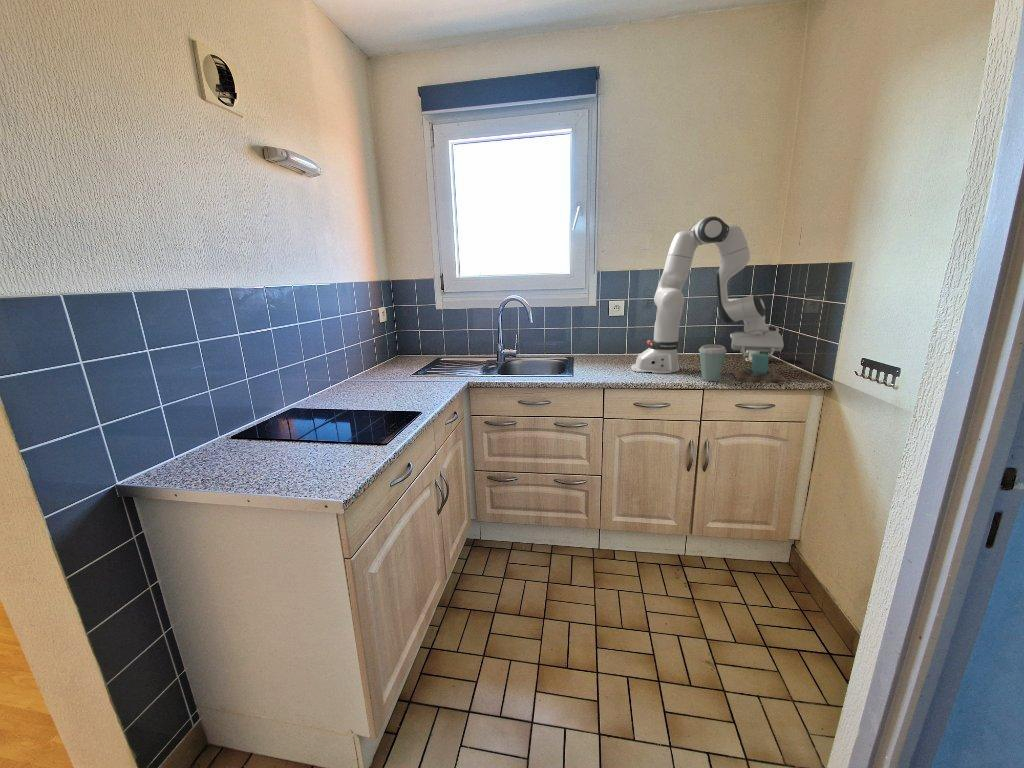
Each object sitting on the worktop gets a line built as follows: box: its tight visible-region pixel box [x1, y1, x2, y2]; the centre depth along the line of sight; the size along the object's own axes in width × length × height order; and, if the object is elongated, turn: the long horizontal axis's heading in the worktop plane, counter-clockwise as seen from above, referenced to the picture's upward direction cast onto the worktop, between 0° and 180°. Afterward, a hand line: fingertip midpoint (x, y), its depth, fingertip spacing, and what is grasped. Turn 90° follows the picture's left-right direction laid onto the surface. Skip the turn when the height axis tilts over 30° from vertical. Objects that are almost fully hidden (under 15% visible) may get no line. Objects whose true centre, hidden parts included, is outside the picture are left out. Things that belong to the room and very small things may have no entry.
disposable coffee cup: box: [698, 343, 727, 382], centre depth 176 cm, size 11×11×15 cm
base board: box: [731, 368, 788, 383], centre depth 178 cm, size 18×13×3 cm
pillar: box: [750, 354, 770, 374], centre depth 177 cm, size 5×5×9 cm
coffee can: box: [744, 350, 770, 363], centre depth 209 cm, size 10×10×14 cm
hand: (757, 357), depth 180 cm, fingers open, 8 cm apart
